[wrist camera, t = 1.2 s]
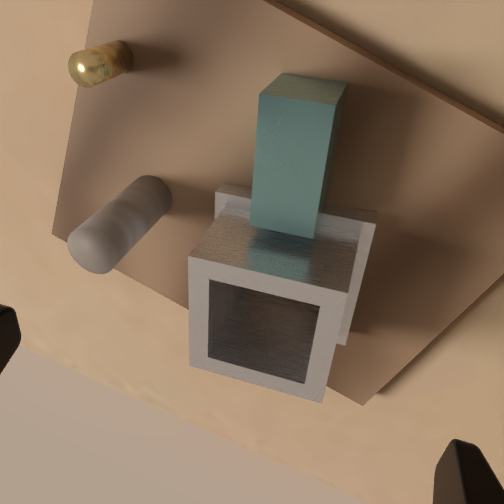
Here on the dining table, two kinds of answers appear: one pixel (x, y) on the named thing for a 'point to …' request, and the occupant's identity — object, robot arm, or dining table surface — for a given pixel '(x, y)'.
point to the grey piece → (281, 251)
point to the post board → (242, 165)
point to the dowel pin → (100, 63)
